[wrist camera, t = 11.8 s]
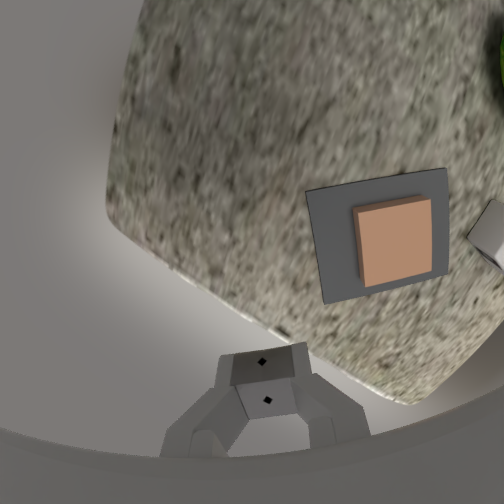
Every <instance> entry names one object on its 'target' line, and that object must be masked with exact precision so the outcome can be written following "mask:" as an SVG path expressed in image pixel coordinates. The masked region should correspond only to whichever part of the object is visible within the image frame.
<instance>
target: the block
mask: <svg viewBox="0 0 504 504" xmlns="http://www.w3.org/2000/svg"><path fill="white" fill-rule="evenodd" d="M352 209H353V217H354V225H355V233H356V242H357V251H358V261H359V273H360V279H361V281H362V283H363V285H364V286H365V287H369V286H373V285H377V284H382V283H386V282H390V281H394V280H398V279H402V278H406V277H410V276H414V275H418V274H421V273H425V272H429V271H431V270H432V221H431V199H429V198H427V197H425V196H423V195H418V196H413V197H407V198H402V199H396V200H391V201H386V202H380V203H375V204H370V205H364V206H359V207H354V208H352Z"/></svg>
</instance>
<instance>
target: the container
mask: <svg viewBox="0 0 504 504" xmlns="http://www.w3.org/2000/svg"><path fill="white" fill-rule="evenodd" d="M467 239H468V240H469V241H470V242H471V243H472V245H473V246H474V247H475V248H476V249H477V251H478V252H479V253H480V254H481V255H482V257H483V258H484V259H485V260H486V262H487V263H489V264H490V265H491V266H492V267H494V268H495V269H496V270H497V271H499V272H500V273H501V274H503V275H504V204H502V203H500V202H498V201H496V200H491V201H490V203H489V205H488V206H487V208H486V209H485V211H484V212H483V214H482V215H481V217H480V218H479V220H478V221H477V223H476V224H475V226H474V227H473V229H472V230H471V232H470V233H469V235H468V236H467Z"/></svg>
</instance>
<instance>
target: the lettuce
mask: <svg viewBox="0 0 504 504" xmlns="http://www.w3.org/2000/svg"><path fill="white" fill-rule="evenodd" d="M500 66H501V75H502V82H503V87H504V34H503V38H502V41H501V45H500Z"/></svg>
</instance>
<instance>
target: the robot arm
mask: <svg viewBox="0 0 504 504" xmlns="http://www.w3.org/2000/svg"><path fill="white" fill-rule="evenodd" d="M295 413H298V415H299V416H300V417H301V418H302V419H303V420H304V421H305V422H306V423H307V424H308V427H309V437H310V448H311V449H306V450H300V451H292V452H285V453H277V454H267V455H257V456H244V457H229V456H228V455H227V452H228V450H229V449H230V447H231V446H232V445H233V443H234V442H235V440H236V439H237V438H238V436H239V435H240V433H241V432H242V430H243V429H244V427H245V426H246V425H247V423H248V422H249V420H250V419H257V418H265V417H271V416H279V415H288V414H295ZM0 504H504V385H503V386H501V387H499V388H497V389H496V390H493V391H491V392H489V393H487V394H485V395H483V396H481V397H479V398H476V399H474V400H472V401H470V402H468V403H465V404H463V405H461V406H458V407H456V408H453V409H451V410H449V411H446V412H443V413H441V414H438V415H436V416H433V417H430V418H427V419H424V420H422V421H419V422H416V423H413V424H410V425H407V426H403V427H401V428H397V429H394V430H390V431H387V432H383V433H380V434H376V435H372V436H371V434H370V430H369V427H368V423H367V420H366V416H365V413H364V410H363V407H362V406H361V405H360V404H358V403H357V402H355V401H354V400H353V399H351V398H350V397H348V396H347V395H346V394H344V393H343V392H341V391H340V390H339V389H337V388H336V387H334V386H333V385H332V384H330V383H329V382H328V381H326V380H325V379H323V378H322V377H321V376H320V375H318V374H317V373H314V374H312V371H311V365H310V360H309V354H308V348H307V343H306V342H301V343H296V344H292V345H288V346H283V347H277V348H271V349H265V350H258V351H251V352H243V353H236V354H228V355H221V356H220V358H219V362H218V368H217V374H216V379H215V385H214V388H210V389H209V390H208V391H207V392H206V393H205V394H204V395H203V396H202V397H201V398H200V399H199V400H198V401H197V402H196V403H194V405H192V406H191V407H190V408H189V409H188V410H187V411H186V412H185V413H184V414H183V415H182V416H181V417H180V418H179V419H178V420H177V421H176V422H175V423H173V424H172V425H171V426H170V427H169V428H168V429H167V431H166V434H165V438H164V442H163V445H162V449H161V453H160V456H159V457H149V456H137V455H136V456H135V455H126V454H117V453H109V452H102V451H96V450H89V449H83V448H77V447H73V446H68V445H63V444H58V443H53V442H49V441H45V440H41V439H37V438H33V437H30V436H26V435H22V434H19V433H16V432H12V431H9V430H6V429H4V428H1V427H0Z"/></svg>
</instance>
